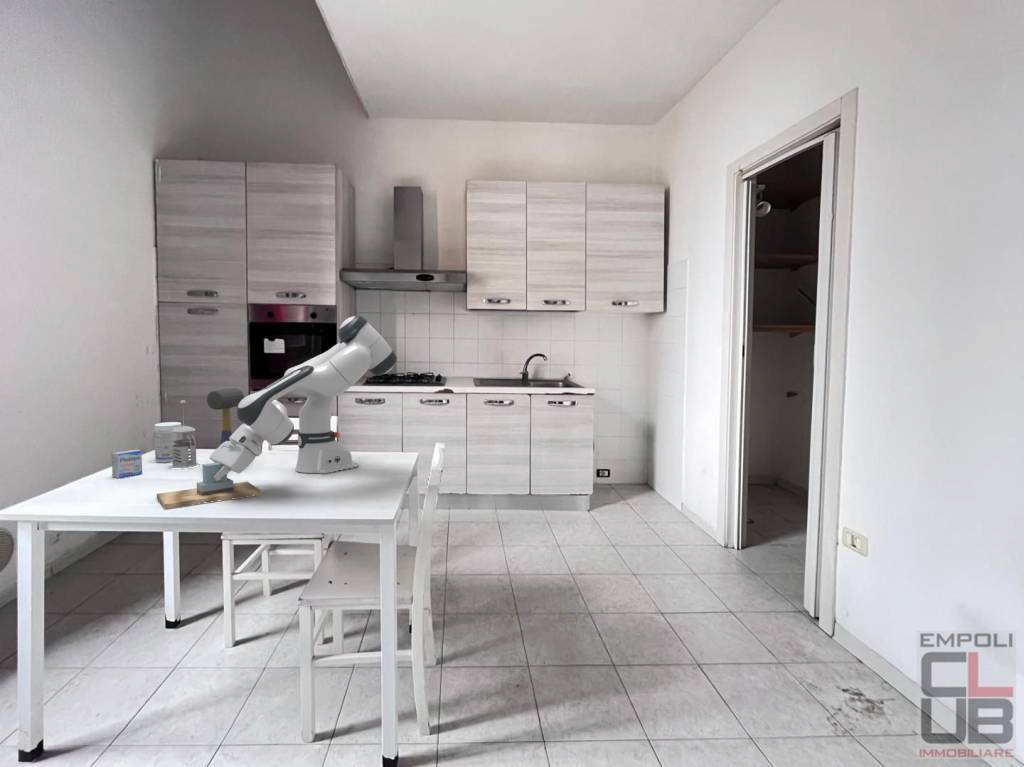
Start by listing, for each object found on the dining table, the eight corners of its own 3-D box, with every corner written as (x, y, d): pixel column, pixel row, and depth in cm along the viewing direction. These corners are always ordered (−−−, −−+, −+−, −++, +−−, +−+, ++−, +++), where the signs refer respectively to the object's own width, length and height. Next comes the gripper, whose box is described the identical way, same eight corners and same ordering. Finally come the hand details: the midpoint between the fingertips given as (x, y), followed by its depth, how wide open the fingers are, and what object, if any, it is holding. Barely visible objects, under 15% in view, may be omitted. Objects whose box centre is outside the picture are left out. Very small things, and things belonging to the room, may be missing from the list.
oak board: (247, 485, 197) (247, 481, 196) (260, 494, 186) (260, 490, 186) (156, 498, 180) (156, 493, 180) (165, 509, 169) (165, 504, 169)
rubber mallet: (225, 474, 213) (223, 390, 210) (206, 472, 214) (204, 389, 212) (247, 466, 225) (245, 387, 223) (229, 465, 226) (227, 386, 224)
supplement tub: (175, 457, 240) (173, 421, 239) (188, 460, 235) (187, 423, 234) (150, 461, 232) (148, 424, 230) (163, 464, 227) (162, 426, 225)
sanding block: (227, 487, 189) (227, 460, 188) (233, 490, 185) (232, 463, 184) (196, 492, 182) (196, 464, 182) (202, 495, 179) (201, 467, 178)
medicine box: (118, 479, 204) (117, 453, 203) (112, 477, 206) (111, 452, 206) (142, 474, 211) (141, 450, 210) (136, 472, 213) (135, 448, 212)
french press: (191, 462, 231) (189, 398, 229) (207, 466, 224) (205, 400, 222) (164, 466, 223) (162, 400, 221) (180, 471, 216) (177, 402, 214)
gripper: (224, 432, 194) (193, 466, 188) (249, 440, 180) (215, 477, 174) (239, 444, 198) (208, 478, 192) (264, 453, 183) (232, 490, 177)
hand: (212, 477), depth 183 cm, fingers closed on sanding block, 3 cm apart
